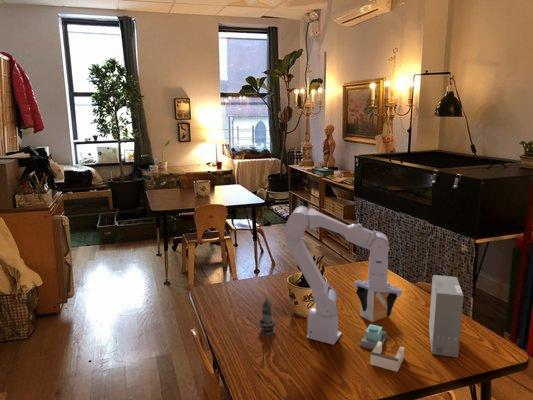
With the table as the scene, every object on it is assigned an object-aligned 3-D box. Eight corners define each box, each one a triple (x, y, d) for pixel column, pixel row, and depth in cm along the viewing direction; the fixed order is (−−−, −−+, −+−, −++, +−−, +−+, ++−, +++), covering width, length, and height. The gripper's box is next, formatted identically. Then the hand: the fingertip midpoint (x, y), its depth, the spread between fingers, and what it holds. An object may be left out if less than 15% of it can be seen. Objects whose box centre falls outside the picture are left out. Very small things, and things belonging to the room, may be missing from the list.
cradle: (379, 351, 131) (379, 345, 131) (359, 346, 134) (359, 340, 134) (386, 337, 139) (387, 331, 138) (368, 332, 142) (368, 327, 141)
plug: (377, 347, 133) (378, 331, 132) (365, 344, 135) (365, 328, 134) (381, 339, 138) (382, 324, 136) (369, 336, 140) (370, 322, 138)
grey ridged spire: (278, 329, 146) (278, 296, 143) (271, 337, 140) (271, 303, 138) (263, 325, 148) (262, 293, 146) (255, 333, 143) (254, 300, 140)
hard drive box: (458, 358, 126) (464, 296, 122) (431, 355, 128) (435, 293, 124) (452, 332, 141) (457, 276, 137) (428, 329, 143) (431, 274, 139)
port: (377, 350, 131) (378, 339, 131) (403, 357, 128) (404, 345, 127) (370, 364, 124) (370, 352, 124) (397, 371, 121) (398, 359, 120)
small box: (373, 322, 148) (374, 288, 146) (359, 315, 154) (360, 282, 151) (388, 316, 153) (390, 282, 150) (375, 309, 158) (376, 276, 155)
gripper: (405, 271, 131) (403, 312, 134) (359, 264, 139) (358, 302, 142) (399, 279, 125) (397, 322, 128) (352, 271, 133) (351, 311, 136)
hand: (376, 312), depth 134 cm, fingers open, 7 cm apart
